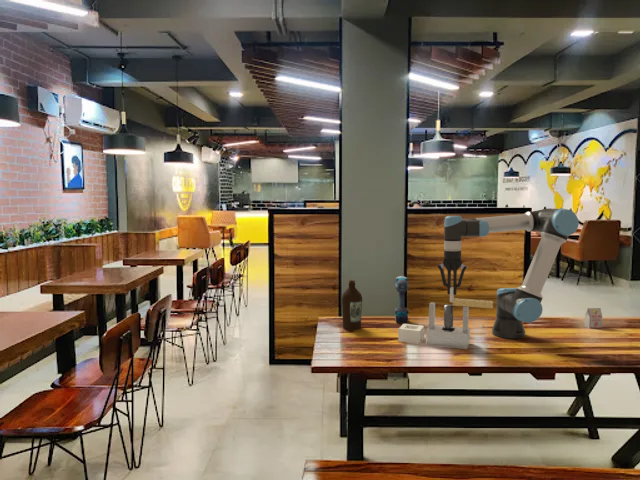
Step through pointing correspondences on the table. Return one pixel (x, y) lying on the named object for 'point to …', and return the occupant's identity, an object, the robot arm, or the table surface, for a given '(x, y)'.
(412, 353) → the table surface
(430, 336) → the grey post stand
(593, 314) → the milk carton
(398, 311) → the impact wrench
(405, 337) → the cream square block
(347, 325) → the olive oil
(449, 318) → the smooth metal cylinder
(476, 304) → the rectangular wooden block
